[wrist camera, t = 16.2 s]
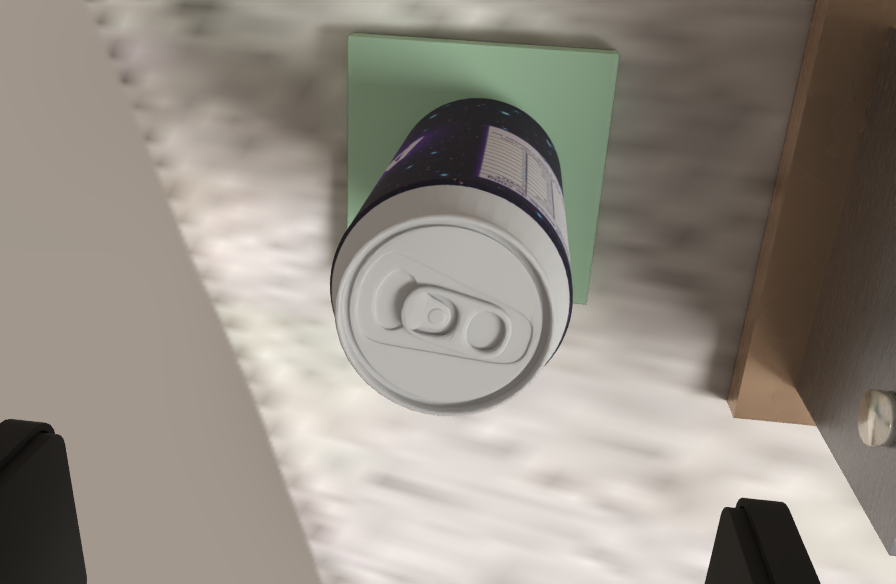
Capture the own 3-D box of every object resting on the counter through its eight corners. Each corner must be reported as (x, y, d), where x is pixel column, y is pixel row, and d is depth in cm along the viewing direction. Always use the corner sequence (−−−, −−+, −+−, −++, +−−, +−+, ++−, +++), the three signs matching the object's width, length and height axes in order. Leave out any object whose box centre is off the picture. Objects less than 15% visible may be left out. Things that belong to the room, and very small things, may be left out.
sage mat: (354, 32, 28) (348, 36, 27) (616, 50, 28) (619, 54, 27) (352, 273, 32) (347, 283, 31) (584, 293, 31) (586, 304, 30)
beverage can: (425, 70, 28) (351, 159, 17) (584, 123, 28) (615, 246, 17) (381, 222, 30) (291, 388, 19) (528, 270, 30) (524, 462, 19)
